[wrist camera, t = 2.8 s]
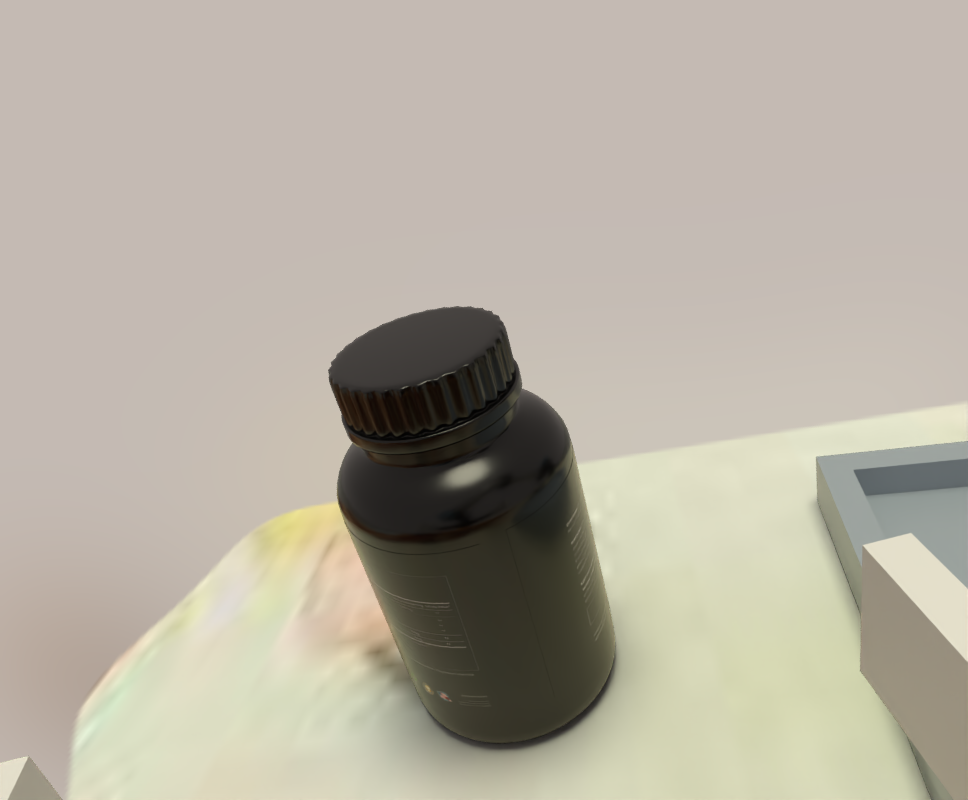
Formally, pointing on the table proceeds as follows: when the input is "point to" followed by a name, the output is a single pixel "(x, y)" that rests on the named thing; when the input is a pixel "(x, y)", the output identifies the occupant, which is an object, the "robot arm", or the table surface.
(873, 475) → the tray
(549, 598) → the supplement bottle
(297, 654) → the table surface
